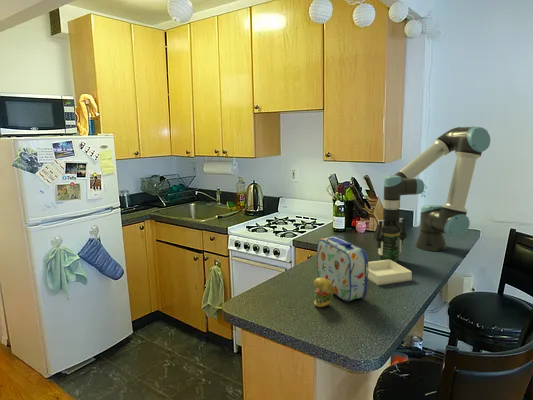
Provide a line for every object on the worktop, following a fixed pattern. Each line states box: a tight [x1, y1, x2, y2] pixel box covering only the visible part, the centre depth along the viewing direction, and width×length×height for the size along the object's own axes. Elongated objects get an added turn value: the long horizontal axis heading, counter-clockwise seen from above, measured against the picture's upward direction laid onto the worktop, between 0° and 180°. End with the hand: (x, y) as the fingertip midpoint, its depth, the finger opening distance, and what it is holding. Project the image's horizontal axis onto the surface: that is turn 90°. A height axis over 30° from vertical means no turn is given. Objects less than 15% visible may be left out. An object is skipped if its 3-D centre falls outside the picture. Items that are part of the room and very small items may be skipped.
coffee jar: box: [379, 224, 401, 263], centre depth 184 cm, size 10×8×19 cm
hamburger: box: [313, 277, 334, 308], centre depth 139 cm, size 8×7×12 cm
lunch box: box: [316, 235, 370, 302], centre depth 150 cm, size 28×10×22 cm, turn 22°
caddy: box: [367, 259, 413, 286], centre depth 167 cm, size 16×16×4 cm
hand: (389, 253), depth 185 cm, fingers closed on coffee jar, 9 cm apart
